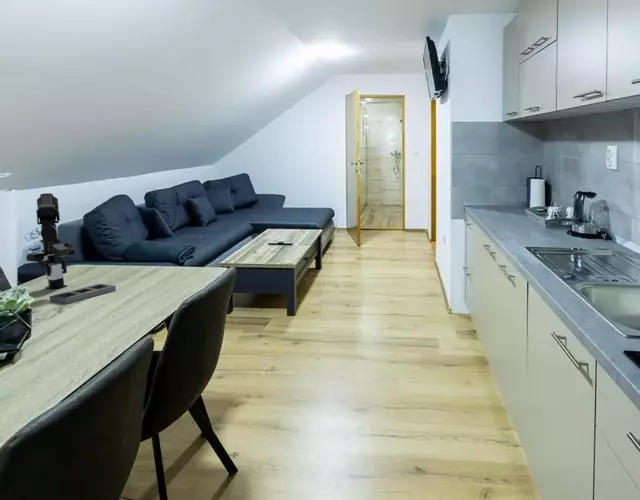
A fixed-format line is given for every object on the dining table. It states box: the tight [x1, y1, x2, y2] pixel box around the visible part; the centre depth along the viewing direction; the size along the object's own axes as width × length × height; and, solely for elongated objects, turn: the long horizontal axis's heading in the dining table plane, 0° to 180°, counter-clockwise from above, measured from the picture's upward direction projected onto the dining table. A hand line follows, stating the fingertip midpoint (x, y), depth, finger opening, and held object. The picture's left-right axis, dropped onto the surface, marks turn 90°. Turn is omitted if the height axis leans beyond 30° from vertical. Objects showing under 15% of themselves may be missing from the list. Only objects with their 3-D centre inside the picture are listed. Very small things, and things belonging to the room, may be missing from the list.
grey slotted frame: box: [49, 283, 117, 305], centre depth 241 cm, size 10×24×2 cm, turn 149°
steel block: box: [45, 263, 64, 281], centre depth 240 cm, size 4×4×6 cm
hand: (53, 274), depth 241 cm, fingers closed on steel block, 4 cm apart
